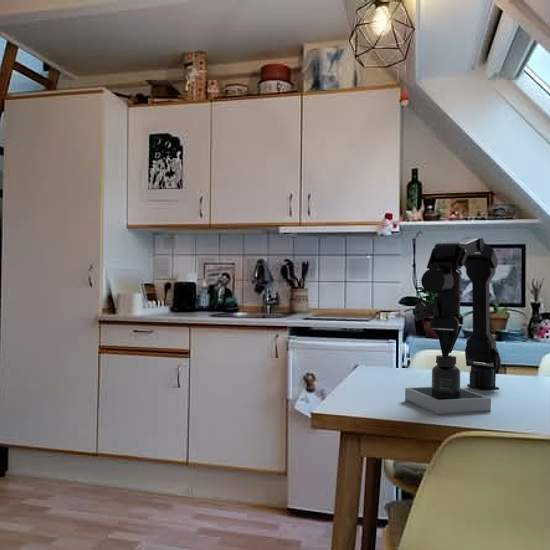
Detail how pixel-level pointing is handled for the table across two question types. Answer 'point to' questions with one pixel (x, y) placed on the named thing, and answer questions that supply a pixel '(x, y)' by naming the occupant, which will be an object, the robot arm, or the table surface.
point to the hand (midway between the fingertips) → (447, 355)
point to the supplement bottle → (445, 378)
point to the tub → (447, 401)
